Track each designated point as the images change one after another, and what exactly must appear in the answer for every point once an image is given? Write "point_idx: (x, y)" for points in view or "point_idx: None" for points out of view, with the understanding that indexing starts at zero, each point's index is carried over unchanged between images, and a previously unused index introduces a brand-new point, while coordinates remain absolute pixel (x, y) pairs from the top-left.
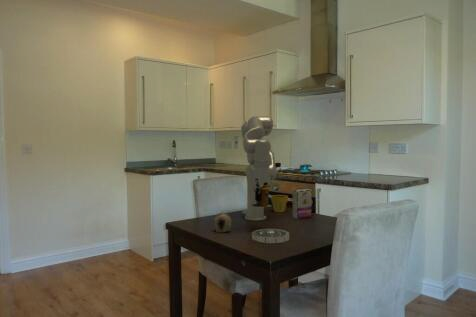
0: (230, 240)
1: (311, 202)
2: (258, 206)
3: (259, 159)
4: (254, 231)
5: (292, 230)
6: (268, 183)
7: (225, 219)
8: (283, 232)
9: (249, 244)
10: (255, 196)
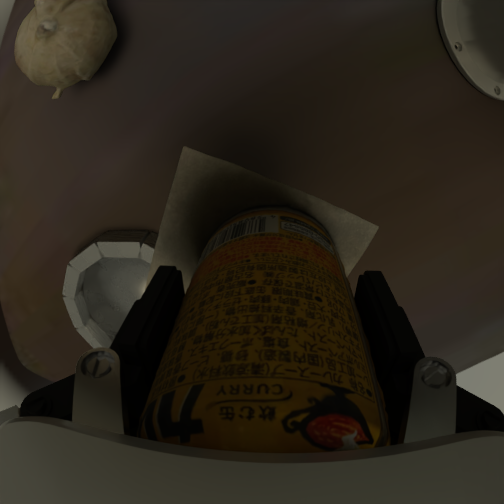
0: (16, 192)
1: None
2: (194, 262)
3: None
4: (103, 248)
5: None
6: None
7: (27, 75)
8: None
9: (37, 278)
10: (141, 302)
